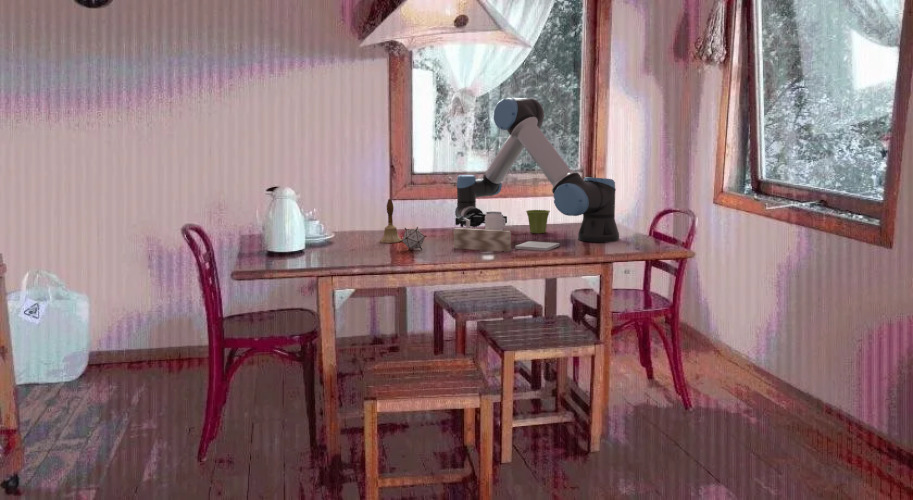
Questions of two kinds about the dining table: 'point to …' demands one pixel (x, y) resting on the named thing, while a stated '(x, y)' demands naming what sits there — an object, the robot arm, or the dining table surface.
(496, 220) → the can
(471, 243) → the beige brown patterned panel
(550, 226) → the dining table surface
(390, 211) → the hand bell
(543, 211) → the plant pot
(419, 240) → the game die
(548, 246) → the pad
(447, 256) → the dining table surface
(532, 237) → the dining table surface
